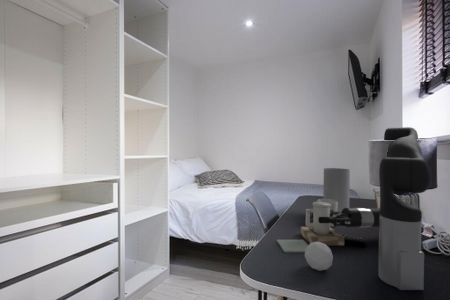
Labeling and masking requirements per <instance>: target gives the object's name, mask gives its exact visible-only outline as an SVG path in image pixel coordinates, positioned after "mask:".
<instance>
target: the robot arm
mask: <svg viewBox="0 0 450 300" xmlns="http://www.w3.org/2000/svg"><path fill="white" fill-rule="evenodd" d="M417 139H418V141H417ZM384 140H395V141H393V142H392V143H391V144H390V145H389V147H388V152H387V158H385V157H384V158H382V159H381V160H380V162H379V169H378V170H379V171H378V173H379V193H380V194H379V197H380V198H379V200H380V201H379V208H377V207H376V208H373V207H372V208H368V207H367V208H365V207H349V208H344V209H343V210H342V212H341V213H339V212H338V211H335V212H334V210H330V217H319V218H318V222H319V223H329V224H333V225H334V227H335V226H337V227H338V226H339V227H346V228H350V229H351V228H352V229H353V228H360V229H361V228H378V231H379V232H378V234H379V235H378V236H379V237H378V278H379V279H380V280H381V281H382V282H383V283H385V284H387V285H389V286H393V287H394V288H396V289H398V290H400V291H424V287H425V286H424V285H425V282H424V281H425V279H424V278H425V253H424V252H423V251H422V223H423V222H422V219H423V217H422V216H423V212H422V210H421V209H420V208H419V207H418V206H415V205H414V204H413V205H412V204H411V203H410V204H411V205H410V204H408V203H405V202H403V201H401V200H400V199H398V198H397V197H396V196H395V195H394V194H397V195H401V194H402V195H403V194H405V193H409V194H422V193H425V192H426V191H427V190H428V188H429V187H430V185H431V171H430V167H429V164H428V162H427V161H426V159H425V158H424V156H423V153H422V149H421V147H420V144H419V135H418V131H417V130H416V128H414V127H410V126H409V127H408V126H406V127H403V126H401V127H388V128H386V129H385V131H384V135H383V141H384ZM393 193H394V194H393ZM311 218H312V219H313V212H311Z"/></svg>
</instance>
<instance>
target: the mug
mask: <svg viewBox="0 0 450 300" xmlns="http://www.w3.org/2000/svg"><path fill="white" fill-rule="evenodd" d="M316 202H326V203H330V204H331V207H330V210H334V212H335V211H338V202H337V201H335V200H331V199H323V198H319V199H317V200H316ZM333 227H335V226H334V225H333V224H330V228H333Z"/></svg>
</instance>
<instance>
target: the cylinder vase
mask: <svg viewBox="0 0 450 300" xmlns="http://www.w3.org/2000/svg"><path fill="white" fill-rule="evenodd" d="M350 176H351V169H348V168H335V167H325V168H323V185H322V186H323V187H322V188H323V189H322V190H323V193H322V194H323V196H322V199H331V200H335V201H337V202H338V212H339V213H341V212H342V210H343V209H344V208H350V193H351V191H350V184H351V181H350V180H351V177H350Z"/></svg>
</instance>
